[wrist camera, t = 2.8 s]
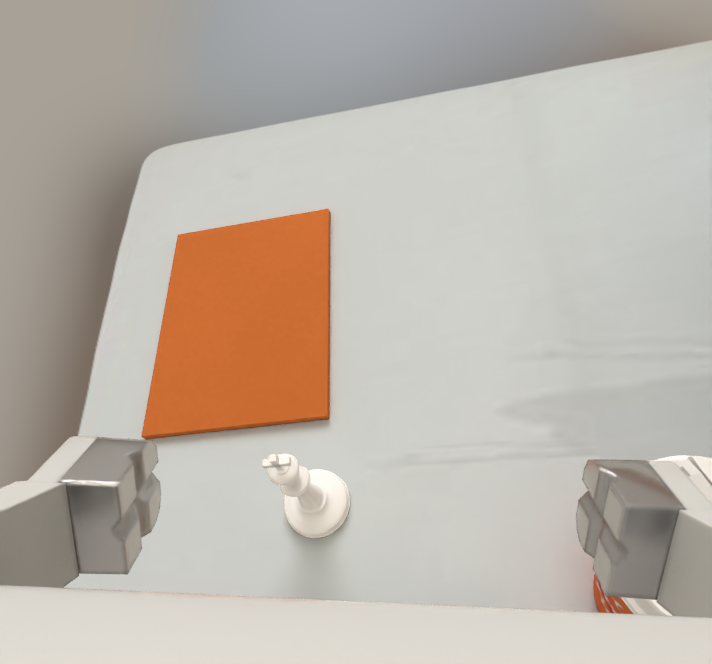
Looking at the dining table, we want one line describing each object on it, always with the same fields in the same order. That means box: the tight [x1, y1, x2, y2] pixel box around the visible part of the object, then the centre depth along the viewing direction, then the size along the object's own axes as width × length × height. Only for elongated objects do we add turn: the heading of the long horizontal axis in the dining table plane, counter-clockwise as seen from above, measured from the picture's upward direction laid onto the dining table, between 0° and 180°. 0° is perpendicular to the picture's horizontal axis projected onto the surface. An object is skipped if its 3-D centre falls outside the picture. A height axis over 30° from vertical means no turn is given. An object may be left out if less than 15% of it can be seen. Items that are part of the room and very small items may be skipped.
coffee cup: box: [594, 455, 712, 616], centre depth 30 cm, size 8×8×15 cm
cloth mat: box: [142, 209, 330, 439], centre depth 54 cm, size 22×16×1 cm
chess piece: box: [263, 454, 350, 538], centre depth 40 cm, size 5×5×10 cm
